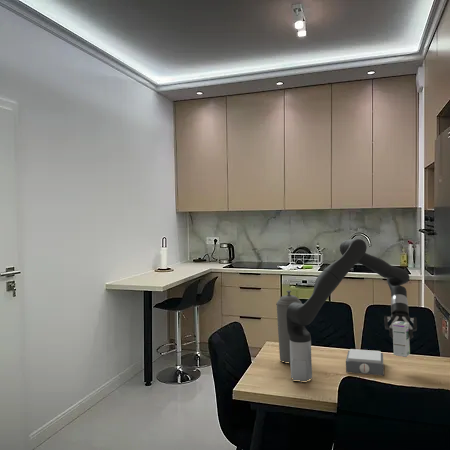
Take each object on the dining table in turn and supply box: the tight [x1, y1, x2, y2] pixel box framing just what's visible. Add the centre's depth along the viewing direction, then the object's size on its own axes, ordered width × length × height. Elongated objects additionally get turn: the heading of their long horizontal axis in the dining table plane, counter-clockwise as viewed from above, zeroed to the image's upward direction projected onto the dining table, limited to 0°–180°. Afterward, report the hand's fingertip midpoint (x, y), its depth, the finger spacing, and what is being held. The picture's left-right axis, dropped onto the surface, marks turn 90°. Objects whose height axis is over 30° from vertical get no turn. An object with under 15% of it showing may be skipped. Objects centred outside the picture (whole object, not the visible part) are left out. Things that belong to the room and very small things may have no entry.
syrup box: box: [392, 321, 411, 358], centre depth 189 cm, size 6×6×14 cm
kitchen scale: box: [345, 348, 385, 377], centre depth 195 cm, size 17×16×6 cm
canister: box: [276, 290, 302, 363], centre depth 209 cm, size 13×13×35 cm
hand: (401, 337), depth 188 cm, fingers closed on syrup box, 7 cm apart
